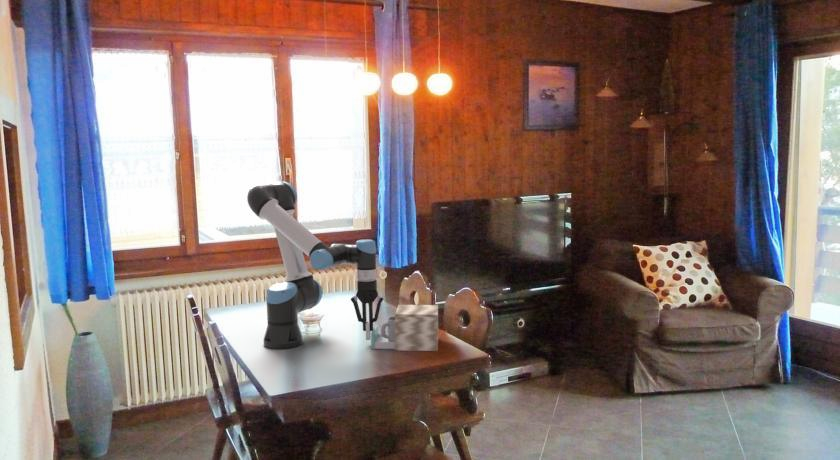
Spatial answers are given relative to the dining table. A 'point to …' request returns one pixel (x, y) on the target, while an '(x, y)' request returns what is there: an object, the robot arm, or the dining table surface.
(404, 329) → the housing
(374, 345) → the tray
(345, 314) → the dining table surface
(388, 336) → the cup
